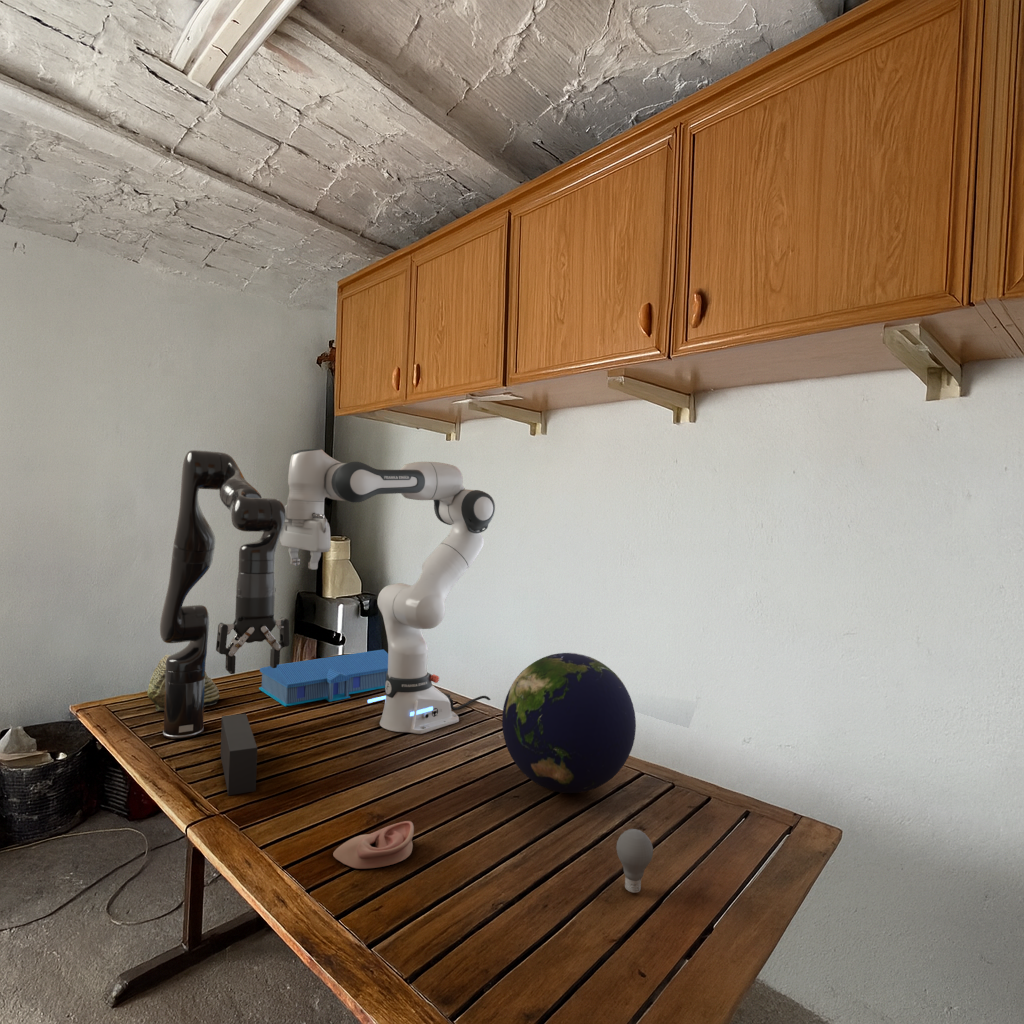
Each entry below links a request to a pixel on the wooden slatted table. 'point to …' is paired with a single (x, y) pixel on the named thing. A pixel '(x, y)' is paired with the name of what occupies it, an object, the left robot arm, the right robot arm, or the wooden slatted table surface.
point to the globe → (569, 723)
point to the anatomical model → (378, 847)
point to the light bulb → (634, 857)
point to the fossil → (158, 687)
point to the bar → (238, 754)
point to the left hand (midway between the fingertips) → (252, 670)
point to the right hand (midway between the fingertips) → (303, 567)
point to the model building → (325, 677)
